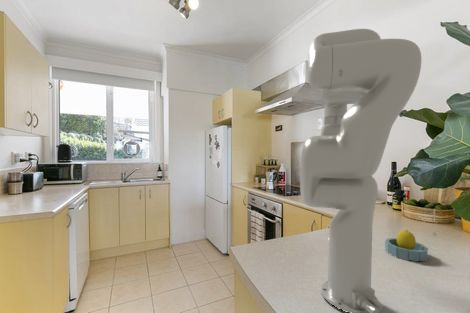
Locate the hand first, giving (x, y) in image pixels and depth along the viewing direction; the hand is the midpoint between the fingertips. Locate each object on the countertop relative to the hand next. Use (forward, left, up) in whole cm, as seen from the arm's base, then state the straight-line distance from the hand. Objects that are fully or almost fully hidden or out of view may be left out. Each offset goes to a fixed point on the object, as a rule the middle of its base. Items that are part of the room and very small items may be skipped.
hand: (334, 169), depth 82 cm
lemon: (-7, -25, -30) cm, 39 cm away
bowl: (-7, -25, -30) cm, 40 cm away
